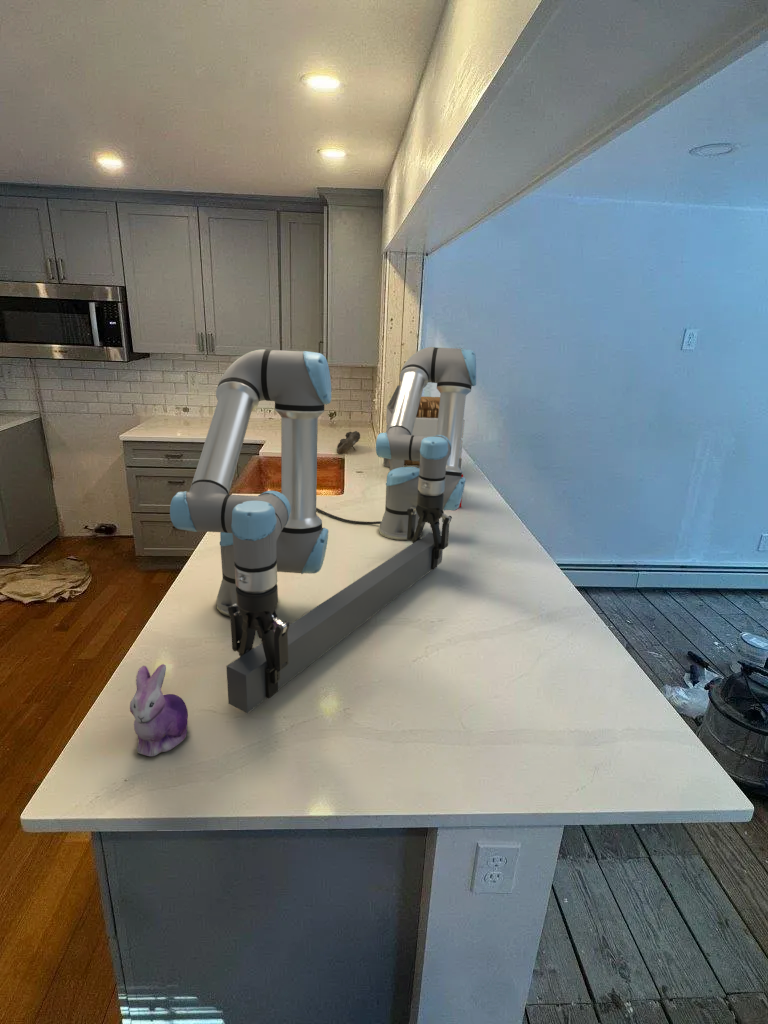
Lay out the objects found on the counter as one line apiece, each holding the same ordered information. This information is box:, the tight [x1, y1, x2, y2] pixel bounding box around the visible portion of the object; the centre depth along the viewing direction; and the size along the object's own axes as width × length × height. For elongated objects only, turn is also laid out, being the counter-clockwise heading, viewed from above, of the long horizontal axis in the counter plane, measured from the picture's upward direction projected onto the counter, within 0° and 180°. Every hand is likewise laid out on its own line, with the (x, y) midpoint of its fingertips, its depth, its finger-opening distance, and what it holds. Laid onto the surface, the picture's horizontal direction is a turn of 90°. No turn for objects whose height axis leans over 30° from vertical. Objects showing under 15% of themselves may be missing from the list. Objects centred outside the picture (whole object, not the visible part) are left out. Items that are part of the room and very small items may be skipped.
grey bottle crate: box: [383, 384, 465, 472], centre depth 268 cm, size 34×33×41 cm
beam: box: [226, 532, 444, 715], centre depth 140 cm, size 83×5×9 cm, turn 149°
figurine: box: [129, 663, 189, 757], centre depth 99 cm, size 9×10×15 cm
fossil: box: [336, 430, 361, 454], centre depth 311 cm, size 22×10×15 cm
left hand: (261, 688), depth 113 cm, fingers closed on beam, 5 cm apart
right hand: (425, 565), depth 170 cm, fingers closed on beam, 5 cm apart
